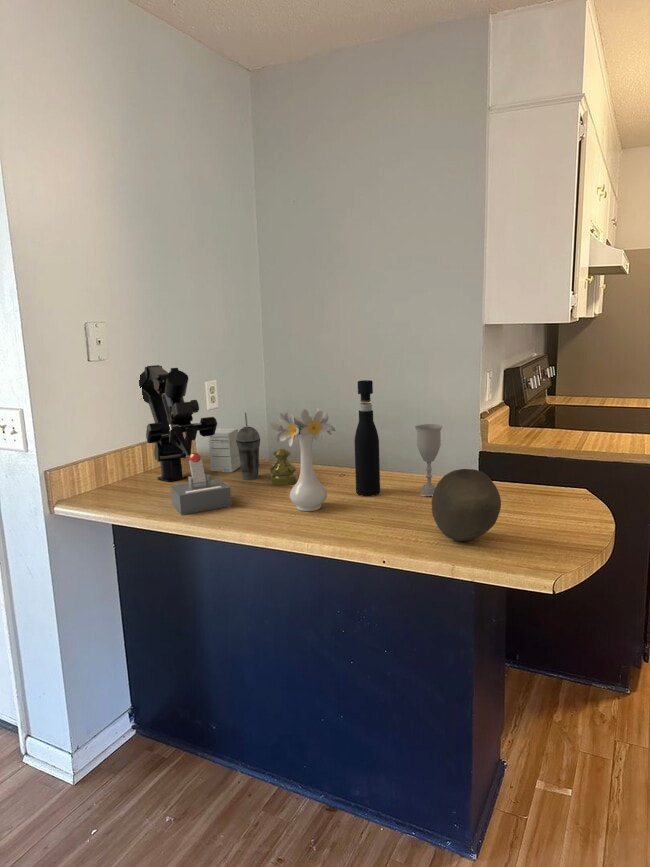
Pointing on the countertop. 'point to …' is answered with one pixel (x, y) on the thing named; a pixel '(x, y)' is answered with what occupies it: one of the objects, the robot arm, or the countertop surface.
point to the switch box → (200, 496)
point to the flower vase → (304, 455)
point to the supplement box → (224, 450)
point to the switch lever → (196, 468)
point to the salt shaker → (282, 469)
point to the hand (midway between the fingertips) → (189, 454)
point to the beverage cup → (248, 451)
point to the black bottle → (366, 445)
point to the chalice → (428, 450)
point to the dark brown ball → (465, 504)
